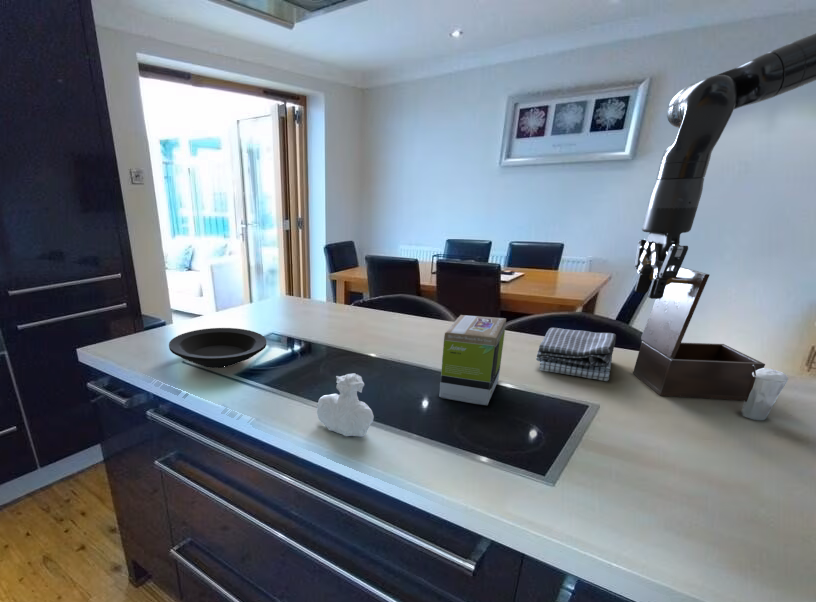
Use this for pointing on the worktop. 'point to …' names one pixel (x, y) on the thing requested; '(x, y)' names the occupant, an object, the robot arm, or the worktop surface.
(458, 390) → the tea box
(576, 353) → the towel
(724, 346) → the chest
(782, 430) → the worktop surface
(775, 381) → the milkshake
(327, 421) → the bust
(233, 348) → the plate
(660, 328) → the lid
